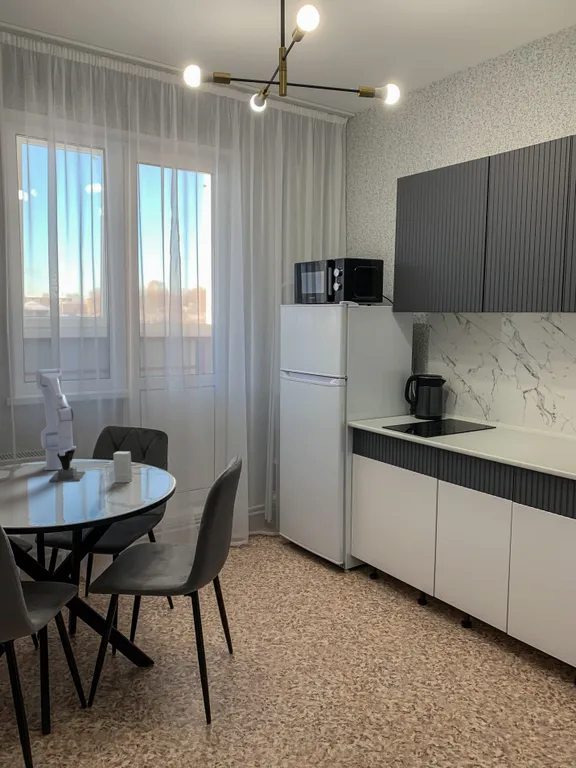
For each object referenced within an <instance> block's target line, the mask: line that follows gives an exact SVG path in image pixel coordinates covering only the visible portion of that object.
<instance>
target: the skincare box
mask: <svg viewBox="0 0 576 768" xmlns="http://www.w3.org/2000/svg"><path fill="white" fill-rule="evenodd" d="M112 455H113V471H114V473H113V476H114V483H130V482H131V481H132V480H133V473H132V472H133V471H132V470H133V469H132V453H131V451H115V452H114V453H113V454H112Z"/></svg>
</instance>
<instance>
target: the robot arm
mask: <svg viewBox="0 0 576 768" xmlns="http://www.w3.org/2000/svg"><path fill="white" fill-rule="evenodd" d="M62 380H63V372H62V370H61V369H60V368H59V367H57V368H49V369H48V368H47V369H45V368H44V369H37V370H36V373H35V381H36V387H37V389H38V390H40V391H41V392H42V397H43V398H42V399H43V405H44V415H45V416H44V417H45V423H46V427H45V428H44V429H43V430H41V432H40V445H41V448H43V449H44V450H45V462H46V463H45V465H46V466H45V467H44V469H43V471H57V470H58V471H59V470H60V469H61V468H63V470H69V464H70V460H72V461H73V457H74V454H75V451H76V449H77V445H74V440H73V434H74V433H73V420H74V411H73V408H72V407H71V405H69V403H68V399H67V397H66V396H65V394H63V393H62V390H61V384H62Z"/></svg>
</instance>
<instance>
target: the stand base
mask: <svg viewBox="0 0 576 768" xmlns="http://www.w3.org/2000/svg"><path fill="white" fill-rule="evenodd" d="M77 468H78V467H77V466H74V467H73V466H72V471H62V468H61V469H60V470H58V471H57V472H55V473H54V474H53V475H52V477H51V478H50V479H48V482H49V483H56V482H55V481H67V482H80V481H81V480H80V479H82V478H84V476H85V474H86V471H85V470H84V471H83V470H81V471H77V470H78V469H77ZM83 475H84V476H83Z"/></svg>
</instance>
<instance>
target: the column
mask: <svg viewBox="0 0 576 768" xmlns="http://www.w3.org/2000/svg"><path fill="white" fill-rule="evenodd" d="M72 467H73V459H72V460H70V464H69V470H63V468H62V471H72Z"/></svg>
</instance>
